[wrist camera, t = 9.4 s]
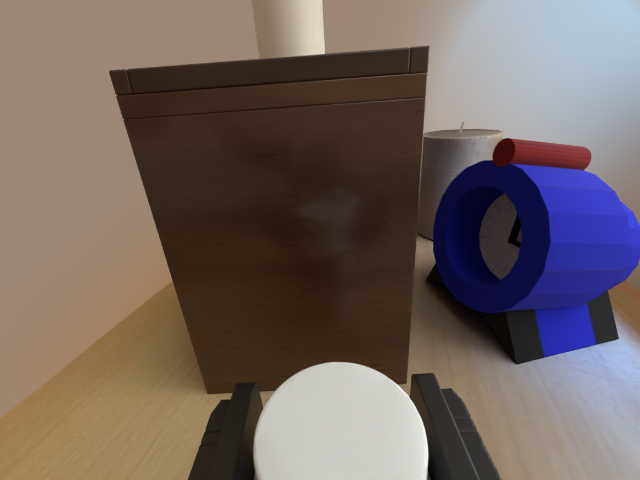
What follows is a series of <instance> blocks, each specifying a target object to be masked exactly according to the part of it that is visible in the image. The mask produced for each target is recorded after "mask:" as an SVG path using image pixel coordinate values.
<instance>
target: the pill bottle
mask: <svg viewBox="0 0 640 480" xmlns="http://www.w3.org/2000/svg"><path fill="white" fill-rule="evenodd" d="M253 459H254V467H255V476H254V479H253V480H431V477H430V474H429V472H428V469H427V468H428V444H427V437H426V432H425V428H424V425H423V422H422V419H421V417H420V415H419V413H418V411H417V409H416V407H415V405H414V404H413V402H412V401H411V399H410V398H409V397H408V395H407V394H406V393H405V392H404V391H403V390H402V389H401V388H400V387H399V386H398V385H397V384H396V383H395V382H393V381H392V380H391V379H389V378H388V377H387V376H385V375H383V374H382V373H380V372H378V371H376V370H374V369H371V368H369V367H366V366H363V365H359V364H355V363H348V362H329V363H323V364H319V365H315V366H312V367H309V368H307V369H304V370H302V371H300V372H298V373H296V374H295V375H293V376H292V377H290V378H289V379H288V380H286V381H285V382H284V383H283V384H282V385H281V386H279V387H278V388H277V389H276V391H275V392H274V393H273V394H272V395H271V397H270V398H269V400H268V401H267V403H266V404H265V406H264V408H263V410H262V412H261V415H260V417H259V420H258V423H257V426H256V430H255V435H254V446H253Z"/></svg>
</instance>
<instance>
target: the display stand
mask: <svg viewBox="0 0 640 480" xmlns="http://www.w3.org/2000/svg"><path fill="white" fill-rule="evenodd" d="M428 60H429V46H420V47H411V48H397V49H396V48H395V49H383V50H369V51H356V52H344V53H331V54H317V55H305V56H292V57H279V58H266V59H253V60H240V61H227V62H214V63H201V64H188V65H176V66H162V67H149V68H136V69H128V70H125V69H123V70H111V71H109V74H110V77H111V80H112V84H113V87H114V90H115V93H116V95H118V96H116V97H117V101H118V104H119V107H120V110H121V114H122V117H123V119H125V120H124V124H125V127H126V130H127V133H128V137H129V139H130V143H131V146H132V149H133V153H134V156H135V159H136V163H137V166H138V169H139V172H140V176H141V179H142V182H143V185H144V188H145V192H146V195H147V198H148V202H149V205H150V208H151V211H152V215H153V218H154V221H155V224H156V228H157V231H158V234H159V237H160V241H161V244H162V247H163V250H164V254H165V257H166V260H167V263H168V267H169V270H170V273H171V277H172V280H173V283H174V286H175V290H176V293H177V296H178V299H179V303H180V306H181V309H182V312H183V316H184V319H185V322H186V325H187V329H188V332H189V335H190V338H191V342H192V345H193V348H194V351H195V355H196V358H197V361H198V364H199V368H200V371H201V374H202V377H203V381H204V384H205V387H206V390H207V393H208V394H213V393H232V392H233V391H234V387H235V385H236V384H237V383H250V382H257V384H258V387H259V391H270V390H276V389H277V388H278V387H279V386H281V385H282V384H283V383H284V382H285V381H286V380H288V379H289V378H290V377H292V376H293V375H295V374H296V373H298V372H300V371H302V370H304V369H307V368H309V367H312V366H315V365H319V364H323V363H329V362H348V363H355V364H359V365H363V366H366V367H369V368H371V369H374V370H376V371H378V372H380V373H382V374H383V375H385V376H387V377H388V378H389V379H391V380H392V381H393V382H395V383H396V384H402V383H407V371H408V356H409V341H410V326H411V312H412V297H413V282H414V267H415V253H416V238H417V223H418V208H419V194H420V179H421V164H422V149H423V134H424V120H425V105H426V98H425V97H426V89H427V75H428V74H427V72H428V62H429V61H428Z"/></svg>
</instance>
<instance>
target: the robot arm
mask: <svg viewBox="0 0 640 480" xmlns="http://www.w3.org/2000/svg"><path fill="white" fill-rule="evenodd" d="M410 399H411V401H412V402H413V404H414V405H415V407H416V409H417V411H418V413H419V415H420V417H421V419H422V422H423V425H424V428H425V432H426V437H427V444H428V468H427V469H428V472H429V474H430V477H431V480H502V479H501V477H500V475H499V473H498V471H497V469H496V467H495V465H494V463H493V461H492V459H491V457H490V455H489V453H488V451H487V449H486V447H485V445H484V443H483V441H482V439H481V437H480V435H479V433H478V432H477V428H476V426H475V424H474V422H473V420H472V419H471V417H470V414H469V412H468V410H467V408H466V406H465V404H464V402H463V401H462V399H461V398H460V397H459V396H458V395H457V394H456V393H455V392H454V391H453V390H452V389H451V388H449V389H441V388H440V386H439V384H438V381H437V379H436V377H435V375H434V374H433V373H426V374H412V377H411V390H410ZM262 410H263V406H262V402H261V397H260V392H259V387H258V384H257V382H250V383H237V384H236V385H235V387H234V391H233V394H232V397H231V400H221V401H220V402H219V404H218V405H217V406H216V408H215V409H214V410H213V412H212V413H211V415H210V418H209V421H208V424H207V427H206V432H204V435H203V438H202V441H201V445H200V447H199V450H198V452H197V455H196V458H195V461H194V464H193V467H192V470H191V472H190V475H189V478H188V480H253V479H254V476H255V467H254V459H253V446H254V435H255V430H256V426H257V423H258V420H259V417H260V415H261V412H262Z"/></svg>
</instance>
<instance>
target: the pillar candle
mask: <svg viewBox="0 0 640 480" xmlns="http://www.w3.org/2000/svg"><path fill="white" fill-rule="evenodd" d="M463 125H464V122H463V123H462V126H461V128H460V129H459V130H441V131H434V132H428V133H424V134H423V149H422V164H421V179H420V194H419V208H418V223H417V232H418V233H419V234H421V235H422V236H424V237H426V238H428V239H432V240H433V228H434V221H435V215H436V212H437V209H438V206H439V203H440V201H441V198H442V196H443V194H444V192H445V191H446V189H447V188H448V186H449V185H450V183H451V182H452V180H453V179H454V178H455V177H456V176H458V175H459V174H460V173H461V172H462V171H463V170H464V169H465V168H467V167H469V166H471V165H474V164H476V163H478V162H480V161H483V160H493V157H492V155H493V151H494V148H495V146H496V145H497V144H498V143H499V142H500V141H501V140H502V136H503V132H502V131H499V130H485V129H462V128H463Z"/></svg>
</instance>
